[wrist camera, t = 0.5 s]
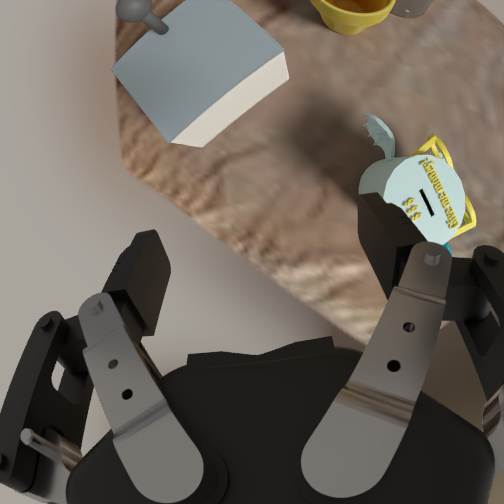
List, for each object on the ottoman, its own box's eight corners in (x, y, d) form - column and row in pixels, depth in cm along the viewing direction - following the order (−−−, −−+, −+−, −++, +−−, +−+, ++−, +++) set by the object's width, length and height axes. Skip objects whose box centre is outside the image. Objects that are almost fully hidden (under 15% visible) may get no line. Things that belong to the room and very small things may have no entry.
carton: (289, 79, 35) (283, 51, 25) (202, 147, 39) (170, 142, 29) (230, 20, 33) (209, -14, 24) (151, 86, 38) (113, 69, 28)
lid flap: (284, 50, 25) (274, 8, 16) (170, 142, 29) (122, 136, 21) (208, -15, 24) (180, -57, 15) (112, 68, 28) (62, 50, 19)
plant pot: (371, 58, 32) (387, 29, 22) (298, 32, 32) (295, -3, 23) (387, 7, 28) (403, -27, 19) (319, -17, 29) (319, -55, 20)
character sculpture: (458, 230, 35) (510, 256, 23) (395, 270, 39) (428, 313, 26) (392, 101, 33) (429, 73, 20) (322, 142, 36) (330, 127, 23)
